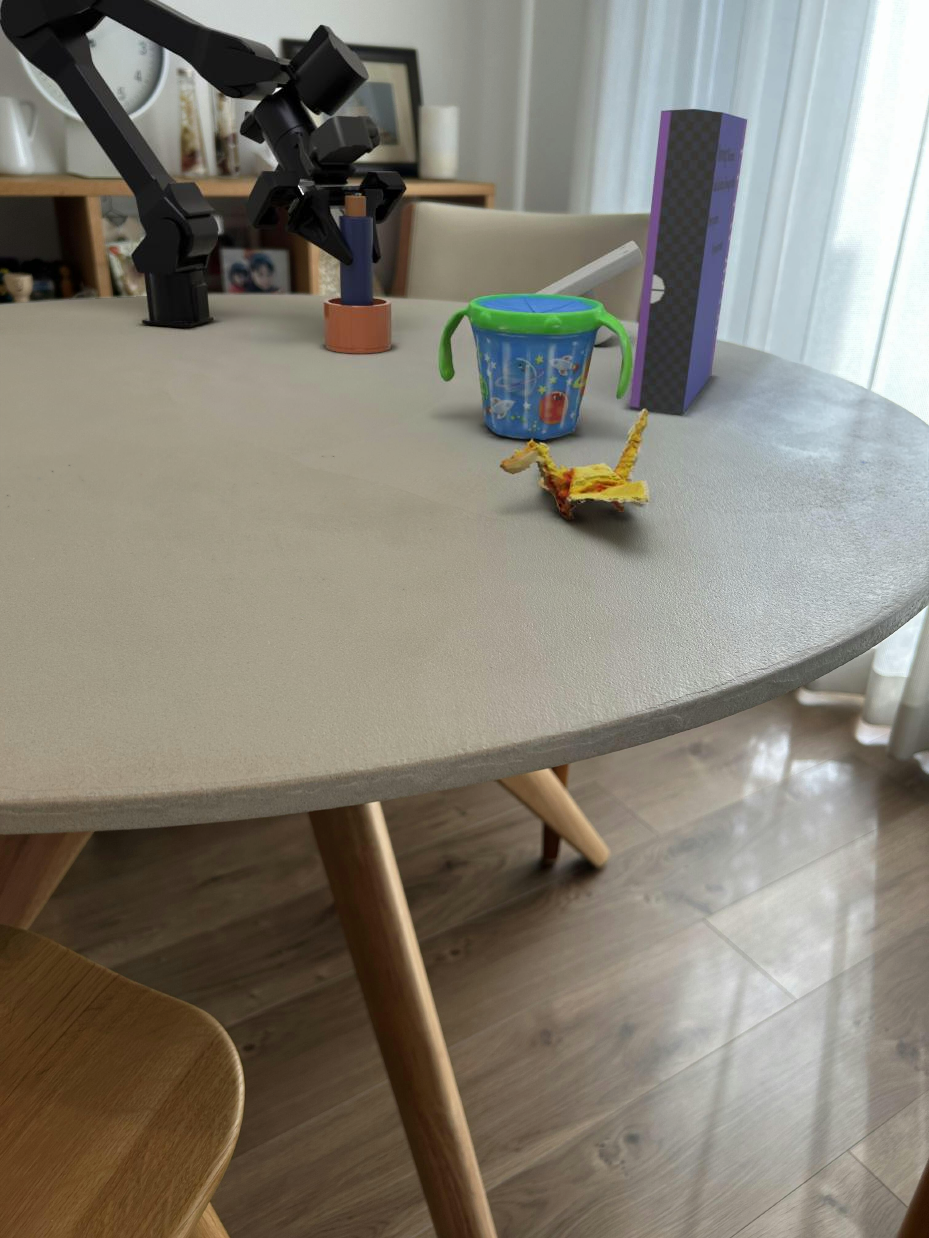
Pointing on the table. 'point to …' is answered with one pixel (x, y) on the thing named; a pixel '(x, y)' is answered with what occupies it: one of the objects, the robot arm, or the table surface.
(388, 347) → the terracotta round pot
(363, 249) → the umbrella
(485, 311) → the snack cup
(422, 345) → the table surface
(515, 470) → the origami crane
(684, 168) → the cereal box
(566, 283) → the door handle
